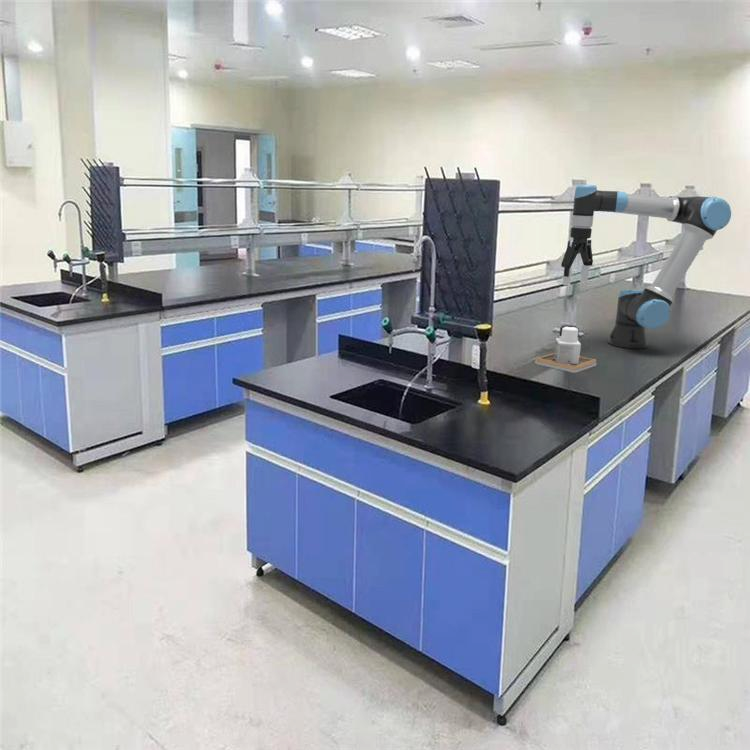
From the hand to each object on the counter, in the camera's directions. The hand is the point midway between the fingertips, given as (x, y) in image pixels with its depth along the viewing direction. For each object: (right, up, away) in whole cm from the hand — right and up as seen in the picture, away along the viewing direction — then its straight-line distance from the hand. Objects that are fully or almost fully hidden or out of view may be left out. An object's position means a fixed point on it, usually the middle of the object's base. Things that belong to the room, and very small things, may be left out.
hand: (575, 283), depth 268 cm
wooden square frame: (-7, -31, -13) cm, 35 cm away
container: (-7, -30, -13) cm, 34 cm away
